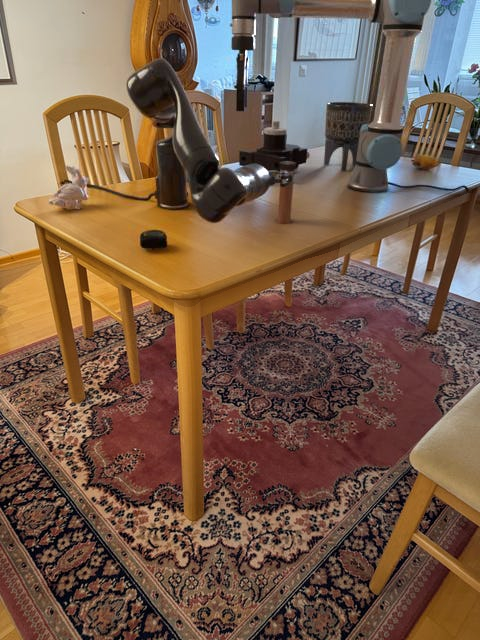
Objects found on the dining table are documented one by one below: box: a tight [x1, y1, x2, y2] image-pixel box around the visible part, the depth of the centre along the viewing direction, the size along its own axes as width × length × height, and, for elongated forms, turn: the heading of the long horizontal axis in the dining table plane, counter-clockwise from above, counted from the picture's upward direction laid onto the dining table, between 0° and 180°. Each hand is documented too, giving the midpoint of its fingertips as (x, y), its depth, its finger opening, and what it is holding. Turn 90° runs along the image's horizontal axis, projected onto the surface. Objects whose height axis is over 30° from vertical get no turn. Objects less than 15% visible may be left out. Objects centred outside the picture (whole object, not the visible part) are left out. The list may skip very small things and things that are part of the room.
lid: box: [280, 161, 296, 170], centre depth 131 cm, size 5×5×2 cm
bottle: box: [276, 169, 295, 224], centre depth 135 cm, size 4×4×17 cm
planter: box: [323, 101, 374, 172], centre depth 204 cm, size 20×20×26 cm
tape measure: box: [139, 229, 168, 250], centre depth 117 cm, size 7×7×4 cm
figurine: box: [47, 165, 90, 210], centre depth 144 cm, size 8×15×13 cm, turn 145°
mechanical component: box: [238, 120, 311, 177], centre depth 191 cm, size 22×21×30 cm
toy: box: [410, 154, 440, 170], centre depth 211 cm, size 11×6×15 cm
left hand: (269, 173), depth 114 cm, fingers open, 8 cm apart
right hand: (241, 109), depth 155 cm, fingers open, 13 cm apart
